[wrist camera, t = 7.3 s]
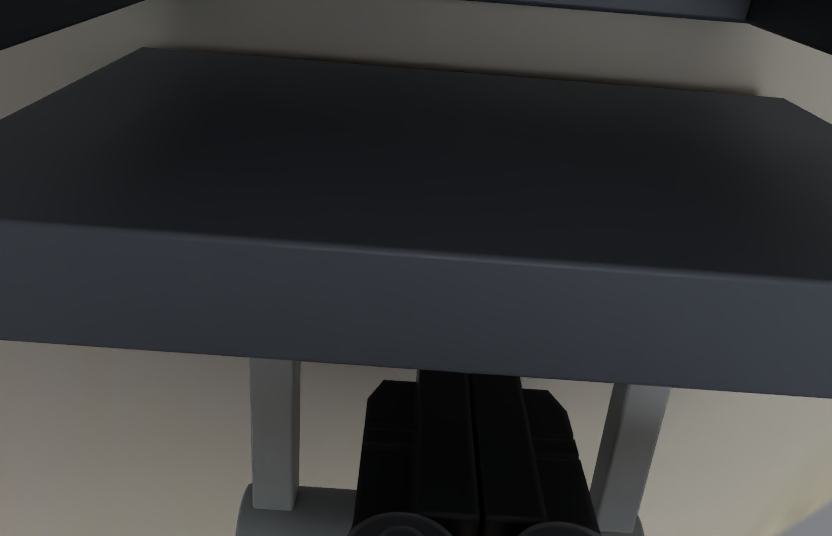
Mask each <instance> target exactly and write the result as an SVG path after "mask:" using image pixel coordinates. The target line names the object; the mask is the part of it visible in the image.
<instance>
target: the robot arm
mask: <svg viewBox="0 0 832 536" xmlns="http://www.w3.org/2000/svg"><path fill="white" fill-rule="evenodd" d="M347 536H602V535H601V533H600V530H599V526H598V522H597V519H596V515H595V511H594V508H593V504H592V501H591V497H590V493H589V490H588V486H587V483H586V479H585V475H584V472H583V468H582V464H581V461H580V460H579V454H578V450H577V446H576V443H575V440H573V432H572V428H571V425H570V421H569V417H568V414H567V411H566V410H565V409H564V408H563V407H562V406H561V404H560V403H559V402H558V401H557V400H556V399H555V398H554V397H553V396H552V394H551V393H550V392H549V391H548V390H536V389H522V386H521V381H520V377H519V376H504V375H490V374H476V373H462V372H448V371H434V370H419V369H417V378H416V382H409V381H394V380H383V381H382V382H381V384H380V385H379V386H378V387H377V388H376V389H375V391H374V392H373V393H372V394H371V395H370V397H369V398H368V400H367V408H366V417H365V427H364V434H363V443H362V451H361V459H360V468H359V476H358V485H357V493H356V502H355V510H354V518H353V523H352V527H351V529H350V532H349V533H348V535H347Z"/></svg>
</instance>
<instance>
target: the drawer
mask: <svg viewBox="0 0 832 536" xmlns="http://www.w3.org/2000/svg"><path fill="white" fill-rule="evenodd" d="M141 1H144V0H0V50H3V49H6V48H9V47H12V46H15V45H17V44H20V43H23V42H26V41H29V40H32V39H35V38H38V37H40V36H43V35H46V34H49V33H52V32H55V31H58V30H61V29H64V28H66V27H69V26H72V25H75V24H78V23H81V22H84V21H87V20H89V19H92V18H95V17H98V16H101V15H104V14H107V13H110V12H113V11H115V10H118V9H121V8H124V7H127V6H130V5H133V4H136V3H138V2H141ZM467 1H479V2H491V3H503V4H516V5H528V6H540V7H552V8H565V9H577V10H589V11H601V12H613V13H626V14H638V15H650V16H662V17H675V18H687V19H699V20H711V21H723V22H736V23H748V24H751V25H753V26H756V27H758V28H761V29H764V30H766V31H769V32H772V33H774V34H777V35H780V36H782V37H785V38H788V39H790V40H793V41H796V42H798V43H801V44H804V45H806V46H809V47H812V48H814V49H817V50H820V51H822V52H825V53H828V54H830V55H832V0H467ZM0 340H8V341H23V342H37V343H51V344H65V345H79V346H93V347H108V348H122V349H136V350H150V351H164V352H178V353H193V354H207V355H221V356H235V357H249V358H250V399H251V447H252V483H251V484H249V485H248V486H247V488H246V490H245V492H244V495H243V498H242V502H241V506H240V510H239V515H238V521H237V527H236V535H235V536H347V535H348V533H349V532H350V529H351V527H352V523H353V518H354V510H355V502H356V493H357V490H351V489H336V488H321V487H306V486H299V441H300V364H301V361H306V362H320V363H334V364H349V365H363V366H377V367H391V368H405V369H419V370H434V371H448V372H462V373H476V374H490V375H504V376H519V377H533V378H547V379H561V380H575V381H590V382H604V383H614V386H613V390H612V395H611V399H610V403H609V408H608V412H607V417H606V421H605V426H604V430H603V435H602V439H601V443H600V448H599V452H598V457H597V461H596V466H595V470H594V475H593V479H592V483H591V488H590V492H589V493H590V497H591V501H592V504H593V508H594V511H595V515H596V519H597V522H598V526H599V530H600V533H601V535H602V536H644V532H643V528H642V524H641V521H640V519H639V517H638V515H637V514H638V511H639V507H640V503H641V499H642V495H643V492H644V488H645V484H646V480H647V476H648V473H649V469H650V465H651V461H652V458H653V454H654V450H655V446H656V442H657V439H658V435H659V431H660V427H661V424H662V420H663V416H664V412H665V408H666V405H667V401H668V397H669V393H670V389H671V387H675V388H689V389H703V390H717V391H731V392H745V393H760V394H774V395H788V396H802V397H816V398H831V399H832V124H830V123H828V122H826V121H824V120H822V119H821V118H819V117H817V116H815V115H813V114H811V113H810V112H808V111H806V110H804V109H802V108H800V107H799V106H797V105H795V104H793V103H791V102H789V101H788V100H786V99H784V98H774V97H762V96H749V95H737V94H724V93H712V92H699V91H687V90H674V89H661V88H649V87H636V86H624V85H611V84H599V83H586V82H574V81H561V80H548V79H536V78H523V77H511V76H498V75H486V74H473V73H461V72H448V71H435V70H423V69H410V68H398V67H385V66H373V65H360V64H348V63H335V62H322V61H310V60H297V59H285V58H272V57H260V56H247V55H235V54H222V53H209V52H197V51H184V50H172V49H159V48H147V47H142V48H140V49H138V50H136V51H134V52H132V53H130V54H128V55H126V56H124V57H122V58H120V59H118V60H116V61H114V62H113V63H111V64H109V65H107V66H105V67H103V68H101V69H99V70H97V71H95V72H93V73H91V74H89V75H87V76H85V77H83V78H81V79H79V80H77V81H75V82H73V83H71V84H69V85H67V86H65V87H63V88H62V89H60V90H58V91H56V92H54V93H52V94H50V95H48V96H46V97H44V98H42V99H40V100H38V101H36V102H34V103H32V104H30V105H28V106H26V107H24V108H22V109H20V110H18V111H16V112H14V113H13V114H11V115H9V116H7V117H5V118H3V119H1V120H0Z"/></svg>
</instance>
